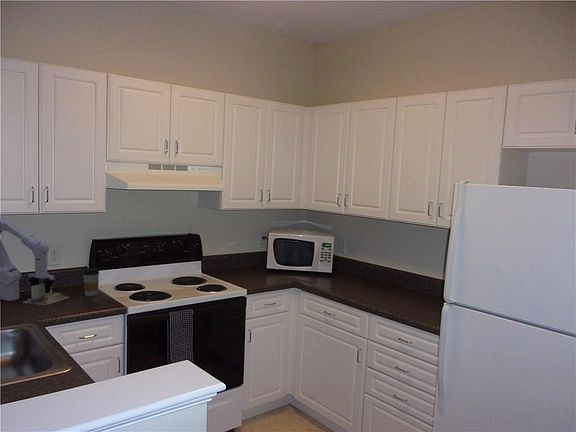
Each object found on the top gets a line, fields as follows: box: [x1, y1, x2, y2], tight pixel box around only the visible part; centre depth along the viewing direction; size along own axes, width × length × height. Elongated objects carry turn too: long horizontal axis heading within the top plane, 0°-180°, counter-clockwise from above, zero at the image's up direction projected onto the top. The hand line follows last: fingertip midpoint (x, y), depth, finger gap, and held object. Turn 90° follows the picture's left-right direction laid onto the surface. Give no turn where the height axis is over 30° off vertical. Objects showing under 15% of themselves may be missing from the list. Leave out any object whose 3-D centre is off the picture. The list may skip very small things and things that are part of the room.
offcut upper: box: [45, 292, 63, 300], centre depth 244 cm, size 4×8×2 cm, turn 163°
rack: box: [21, 291, 70, 306], centre depth 246 cm, size 15×17×3 cm
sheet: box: [30, 282, 53, 300], centre depth 247 cm, size 1×12×8 cm, turn 163°
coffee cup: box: [82, 267, 100, 297], centre depth 258 cm, size 8×8×15 cm
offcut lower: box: [43, 295, 66, 304], centre depth 244 cm, size 4×10×2 cm, turn 163°
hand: (41, 292), depth 247 cm, fingers open, 7 cm apart
